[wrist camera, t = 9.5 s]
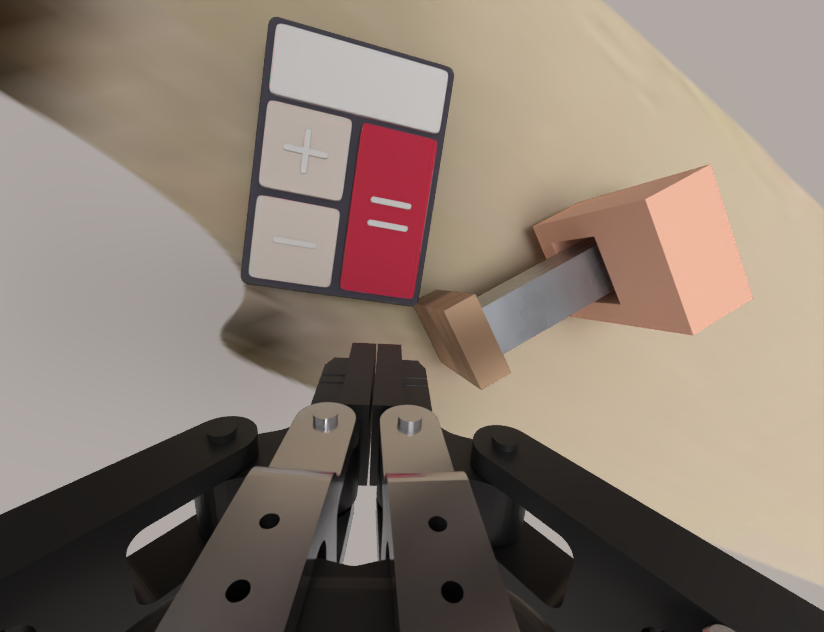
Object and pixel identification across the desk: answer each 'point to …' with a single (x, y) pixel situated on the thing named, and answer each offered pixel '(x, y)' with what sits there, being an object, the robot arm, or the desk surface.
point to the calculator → (344, 166)
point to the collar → (658, 252)
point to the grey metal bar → (546, 294)
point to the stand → (462, 336)
